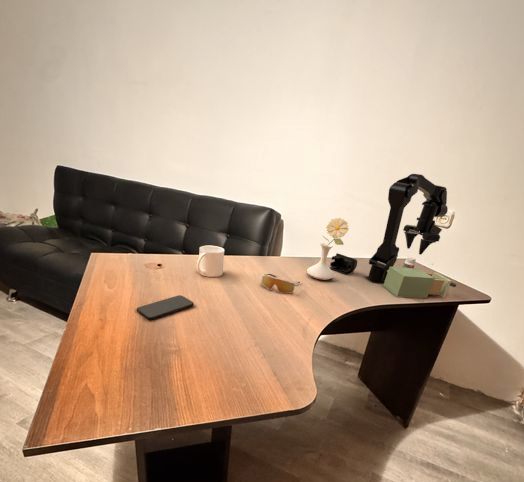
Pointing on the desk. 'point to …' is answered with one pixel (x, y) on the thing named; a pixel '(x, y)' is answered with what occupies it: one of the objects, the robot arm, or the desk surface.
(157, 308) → the smartphone
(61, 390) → the desk surface
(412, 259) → the pill bottle
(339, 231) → the flower in vase
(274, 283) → the sunglasses
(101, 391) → the desk surface
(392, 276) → the cabinet
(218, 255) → the mug
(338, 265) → the end cap
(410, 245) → the robot arm
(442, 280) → the drawer
